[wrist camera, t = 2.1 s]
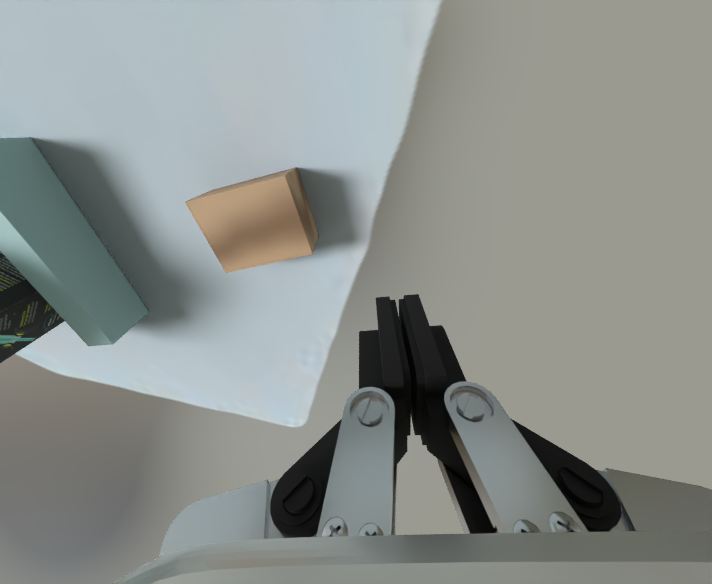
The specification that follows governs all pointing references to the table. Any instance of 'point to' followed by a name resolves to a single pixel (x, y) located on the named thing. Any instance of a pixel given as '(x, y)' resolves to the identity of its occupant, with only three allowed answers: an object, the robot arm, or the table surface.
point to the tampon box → (21, 311)
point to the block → (257, 221)
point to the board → (61, 248)
